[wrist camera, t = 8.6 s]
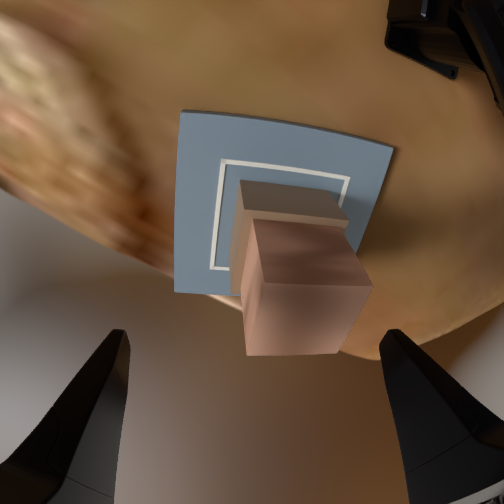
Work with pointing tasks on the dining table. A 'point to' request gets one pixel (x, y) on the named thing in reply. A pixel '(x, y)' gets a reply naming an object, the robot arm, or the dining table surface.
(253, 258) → the terracotta block
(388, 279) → the dining table surface
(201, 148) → the blueprint board
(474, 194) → the dining table surface
